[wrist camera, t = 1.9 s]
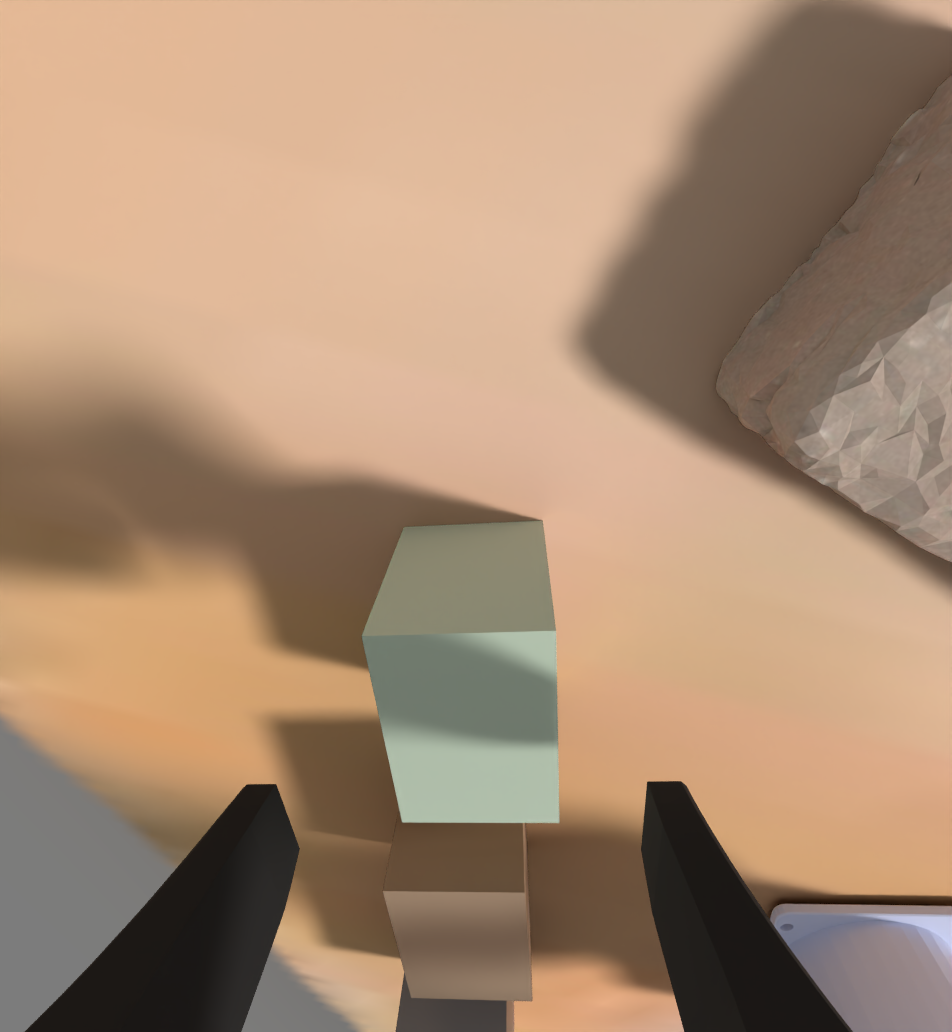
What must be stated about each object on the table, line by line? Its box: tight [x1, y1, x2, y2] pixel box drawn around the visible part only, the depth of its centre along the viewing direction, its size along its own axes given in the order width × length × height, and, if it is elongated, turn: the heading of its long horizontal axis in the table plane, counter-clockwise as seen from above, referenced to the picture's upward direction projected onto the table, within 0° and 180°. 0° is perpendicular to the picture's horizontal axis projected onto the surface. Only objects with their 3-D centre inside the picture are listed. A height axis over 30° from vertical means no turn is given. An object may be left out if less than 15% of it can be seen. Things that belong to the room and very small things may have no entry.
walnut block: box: [383, 810, 532, 1001], centre depth 18 cm, size 6×4×5 cm, turn 5°
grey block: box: [396, 973, 514, 1032], centre depth 22 cm, size 6×4×5 cm, turn 4°
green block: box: [362, 521, 559, 823], centre depth 14 cm, size 6×4×5 cm, turn 5°
